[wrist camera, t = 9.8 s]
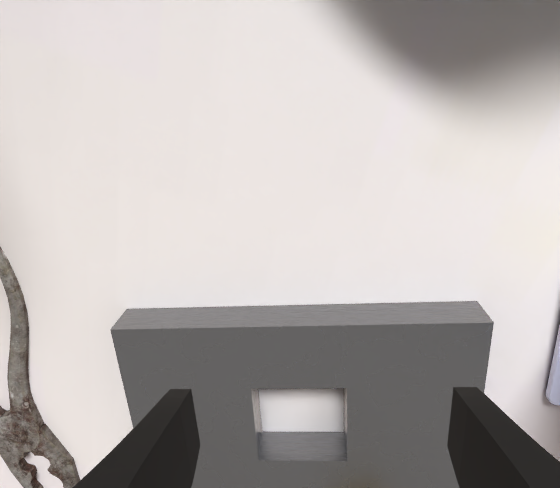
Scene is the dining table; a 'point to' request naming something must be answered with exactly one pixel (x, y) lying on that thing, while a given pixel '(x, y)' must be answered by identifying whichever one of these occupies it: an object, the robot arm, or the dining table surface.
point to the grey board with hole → (311, 386)
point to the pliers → (26, 403)
